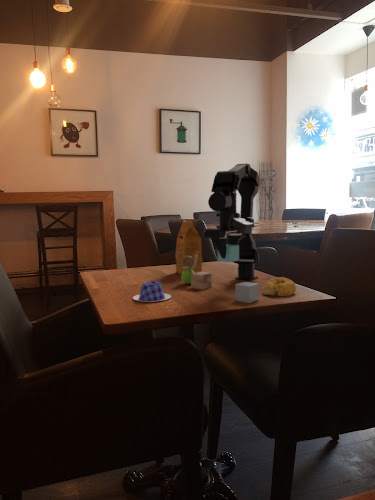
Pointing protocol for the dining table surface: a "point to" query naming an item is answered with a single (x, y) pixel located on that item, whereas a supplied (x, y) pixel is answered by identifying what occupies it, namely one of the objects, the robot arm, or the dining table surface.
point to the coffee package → (188, 246)
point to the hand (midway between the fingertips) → (228, 257)
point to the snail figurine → (188, 268)
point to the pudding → (151, 292)
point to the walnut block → (201, 280)
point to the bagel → (279, 287)
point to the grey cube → (247, 292)
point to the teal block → (230, 253)
